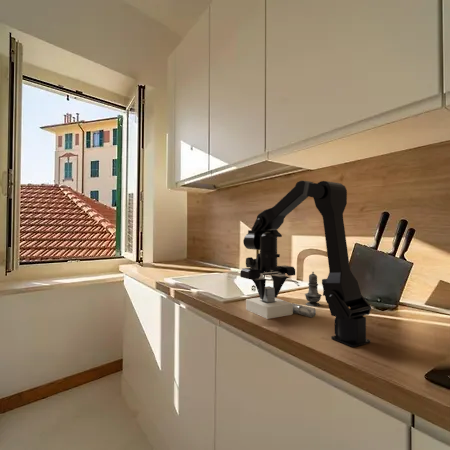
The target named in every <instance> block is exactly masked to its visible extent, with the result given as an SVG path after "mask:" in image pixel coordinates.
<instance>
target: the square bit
mask: <svg viewBox="0 0 450 450" xmlns="http://www.w3.org/2000/svg"><path fill="white" fill-rule="evenodd" d="M262 302H264V303H274V302H275V288H273V286H270V285H269V286H265V292H264V298H263V299H262Z"/></svg>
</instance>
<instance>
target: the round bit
mask: <svg viewBox="0 0 450 450" xmlns="http://www.w3.org/2000/svg"><path fill="white" fill-rule="evenodd" d="M292 303H293V314H297V315H301V316H304V317H308V318H314V317H315V316H316V313H317V312H316V307H315V308H314V307H313V306H307V305H303V304H298V303H294V302H292Z"/></svg>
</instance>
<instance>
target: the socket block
mask: <svg viewBox="0 0 450 450" xmlns="http://www.w3.org/2000/svg"><path fill="white" fill-rule="evenodd" d="M293 303H294V302H289V301H286V300H282V299H281V298H277V297H276V298H275V302H274V303H264V302H262V299H260V296H259V297H252V298H246V299H245V311H248V312H251V313H252V314H255V315H258V316H260V317H262V318H264V319H267V320H269V319H274V318H280V317H285V316H292V315H293V314H294V313H293Z"/></svg>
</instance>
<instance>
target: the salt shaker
mask: <svg viewBox="0 0 450 450" xmlns="http://www.w3.org/2000/svg"><path fill="white" fill-rule="evenodd" d="M311 272H312V273H311V274H309V276H308V283H307V285H308V291H307V293H304V296H305V299H306V300H307V302H306V303H305V306H307V307H312V308H314V307H315V308H316V307H317V308H318V307H321V306H322V304H320V300H321V298H322V296H323V294H320V293H319V291H318V286H319V284H318V276H317V274H315V272H314V271H311Z"/></svg>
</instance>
